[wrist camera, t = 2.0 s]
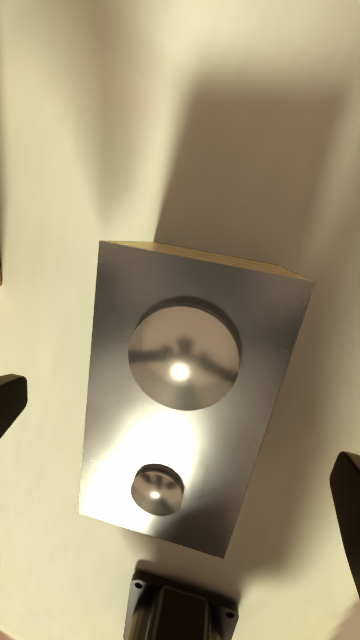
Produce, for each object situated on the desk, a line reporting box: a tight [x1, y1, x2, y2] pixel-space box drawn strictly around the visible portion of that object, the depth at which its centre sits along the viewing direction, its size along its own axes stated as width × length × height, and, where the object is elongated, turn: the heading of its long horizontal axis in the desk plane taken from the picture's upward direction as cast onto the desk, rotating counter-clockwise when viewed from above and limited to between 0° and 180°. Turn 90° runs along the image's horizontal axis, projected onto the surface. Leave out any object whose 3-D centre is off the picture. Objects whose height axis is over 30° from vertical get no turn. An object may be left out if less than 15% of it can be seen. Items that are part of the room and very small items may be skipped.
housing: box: [78, 241, 315, 559], centre depth 10 cm, size 9×5×5 cm, turn 171°
